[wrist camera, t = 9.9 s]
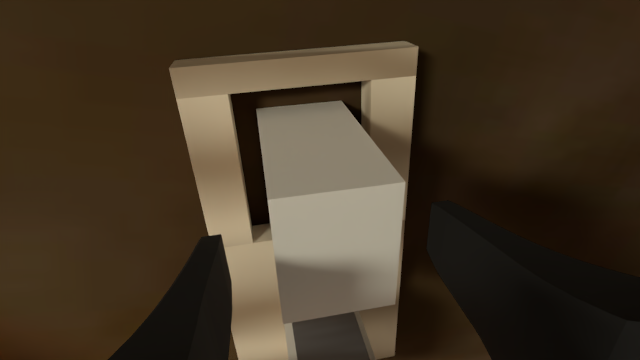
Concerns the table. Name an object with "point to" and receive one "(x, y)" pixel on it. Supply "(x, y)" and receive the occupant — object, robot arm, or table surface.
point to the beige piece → (256, 241)
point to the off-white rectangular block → (329, 211)
